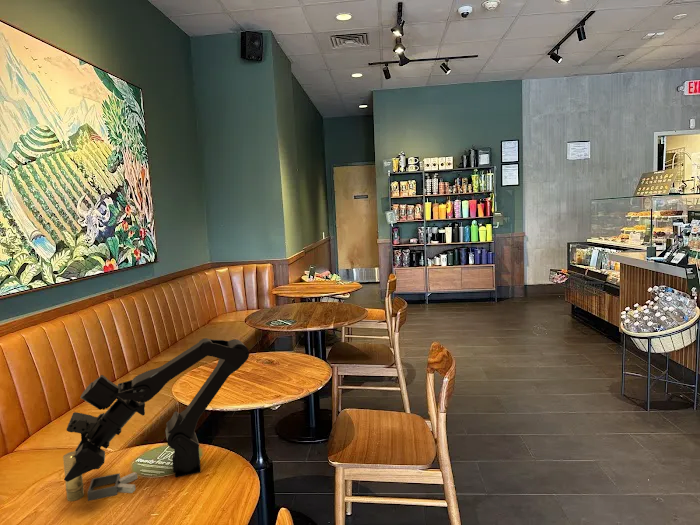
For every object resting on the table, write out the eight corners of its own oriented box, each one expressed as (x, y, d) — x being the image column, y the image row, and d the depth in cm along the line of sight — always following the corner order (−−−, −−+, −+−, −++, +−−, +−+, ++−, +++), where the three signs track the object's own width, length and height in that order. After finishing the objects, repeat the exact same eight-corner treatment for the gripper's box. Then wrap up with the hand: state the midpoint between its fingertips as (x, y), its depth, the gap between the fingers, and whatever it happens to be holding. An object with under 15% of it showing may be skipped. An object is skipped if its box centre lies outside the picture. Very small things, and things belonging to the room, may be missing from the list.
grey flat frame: (137, 476, 122) (137, 468, 122) (135, 492, 115) (134, 484, 114) (93, 485, 118) (92, 477, 118) (87, 502, 111) (86, 494, 111)
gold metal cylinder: (85, 490, 116) (81, 449, 115) (82, 499, 112) (78, 456, 111) (68, 494, 115) (64, 452, 113) (65, 502, 111) (61, 460, 110)
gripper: (91, 389, 121) (45, 438, 118) (83, 416, 104) (30, 474, 101) (125, 411, 125) (83, 459, 122) (124, 441, 109) (74, 497, 105)
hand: (68, 471), depth 112 cm, fingers open, 9 cm apart
